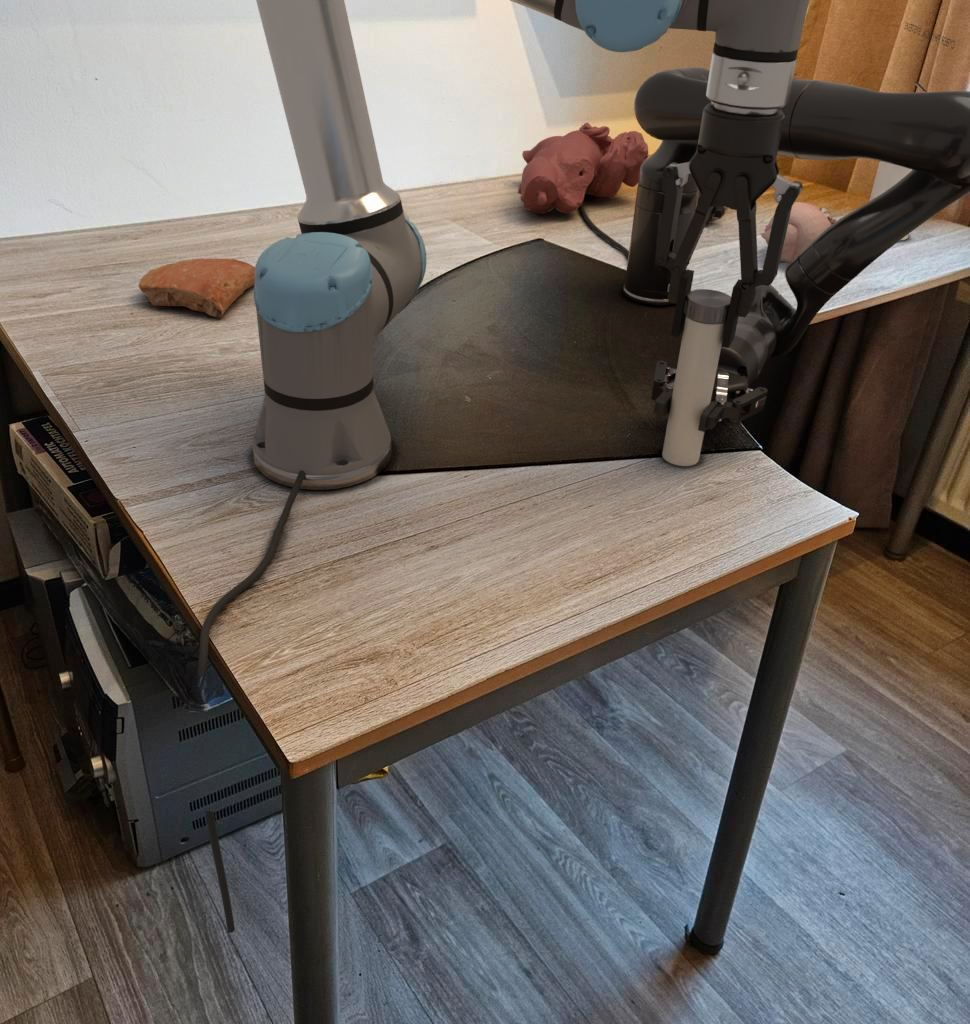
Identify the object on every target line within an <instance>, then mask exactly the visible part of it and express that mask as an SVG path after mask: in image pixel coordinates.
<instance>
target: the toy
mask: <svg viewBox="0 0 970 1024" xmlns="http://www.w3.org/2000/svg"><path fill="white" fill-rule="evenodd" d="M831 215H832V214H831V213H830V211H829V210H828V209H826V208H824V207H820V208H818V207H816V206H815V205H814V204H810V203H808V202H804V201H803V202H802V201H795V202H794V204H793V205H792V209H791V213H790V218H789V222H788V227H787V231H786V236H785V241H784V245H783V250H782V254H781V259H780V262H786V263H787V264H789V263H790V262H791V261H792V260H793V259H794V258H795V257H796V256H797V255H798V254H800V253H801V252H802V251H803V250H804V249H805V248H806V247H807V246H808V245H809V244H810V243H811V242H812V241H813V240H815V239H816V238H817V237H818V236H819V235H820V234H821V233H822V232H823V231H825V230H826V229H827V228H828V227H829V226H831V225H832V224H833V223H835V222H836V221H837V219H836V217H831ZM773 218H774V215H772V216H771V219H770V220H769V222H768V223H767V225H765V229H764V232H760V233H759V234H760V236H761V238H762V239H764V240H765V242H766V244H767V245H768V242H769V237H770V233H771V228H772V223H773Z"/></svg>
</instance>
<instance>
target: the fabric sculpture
mask: <svg viewBox="0 0 970 1024" xmlns="http://www.w3.org/2000/svg"><path fill="white" fill-rule="evenodd" d="M610 130H611V129H610V127H608V126H607V125H605V126H604V125H602V126H600V127H598V126H592V125H591V124H590V123H589V122H585V123H584V124H581V126H580V127H579V129H576V130H573V131H570V132H568V133H566V134H565V135H554V136H549V137H546V138H544V139H542V140H540V141H539V142H538V143H536V145H535V146H534V147H532V148H531V149H529V150H523V151H522V153H521V156H522V158H523V160H524V162H525V163H526V164H525V166H524V168H523V170H522V172H521V173H522V174H521V180H520V181H521V182H520V185H519V186H518V189H517V194H518V195H520V200H521V202H522V203H523V207H524V209H525V210H529V211H530V212H532V213H535V214H546V213H549V212H551V211H552V210H553V209H554V208H555V209H556V210H557V211H559V212H560V213H564V214H569V213H573V212H575V211H578V209H580V205H581V204H582V202H583V203H584V199H585V195H591V196H593V197H596V198H599V197H604V198H606V197H608V198H610V197H613V196H614V195H617V194H618V192H619V191H620V189H621V186H622V184H624V185H625V186H627V187H631V188H635V187H636V186H638V179H639V172H640V167H641V165H642V163H643V162H644V161H645V160H646V159H648V158H649V146H648V143H647V142H646V141H645V139H644V135H643V134H642V132H638V131H636V130H631V131H628V132H627V131H624V132H621V133H618V135H617V136H615V137H614V138H612V137H611V136H610V135H609V134H610Z"/></svg>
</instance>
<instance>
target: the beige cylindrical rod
mask: <svg viewBox="0 0 970 1024" xmlns="http://www.w3.org/2000/svg"><path fill="white" fill-rule="evenodd" d="M725 326H726V321H725V322H722V323H704V322H699V321H696V320H693V319H691V318H689V317H687V316H686V318H685V324H684V330H683V331H682V335H681V342H680V348H679V354H678V359H677V365H676V369H677V371H676V376H675V379H674V381H675V382H674V381H673V382H674V388H673V394H672V400H671V405H670V411H669V413H668V416H667V417H668V418H667V422H666V423H667V424H666V430H665V436H664V441H663V447H662V452H661V456H662V458H663V459H664V460H665V461H666V462H667V463H669V464H671V465H674V466H679V467H691V466H694V465H696V464H698V462H699V461H700V457H701V452H702V447H703V441H704V436H705V432H702V431H699V430H698V427H699V422H700V417H701V414H702V412H703V411H704V410H705V409H706V407H707V406H708V405H709V404H710V401H711V396H712V391H713V386H714V381H715V376H716V371H717V366H718V361H719V356H720V351H721V346H722V341H723V336H724V331H725Z"/></svg>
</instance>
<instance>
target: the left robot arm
mask: <svg viewBox="0 0 970 1024" xmlns="http://www.w3.org/2000/svg"><path fill="white" fill-rule="evenodd" d="M255 1H256V7H257V9H258V13H259V17H260V22H261V24H262V30H263V33H264V37H265V40H266V41H265V42H266V44H267V49H268V52H269V56H270V60H271V64H272V68H273V72H274V76H275V79H276V83H277V87H278V92H279V95H280V99H281V104H282V107H283V111H284V115H285V118H286V122H287V126H288V130H289V134H290V138H291V142H292V146H293V150H294V155H295V157H296V162H297V166H298V169H299V173H300V177H301V182H302V185H303V189H304V193H305V201H304V204H302V207H301V208H300V211H299V212H298V214H297V216H296V217H297V221H298V225H299V229H300V233H299V234H296V236H295V237H289V236H287V237H284V238H281V239H279V240H278V241H275V242H274V243H272V244H271V245H269V246H268V247H267V248H265V249H264V250H263V251H262V253H261V254H260V255H259V256H258V258H257V260H256V263H255V266H254V267H255V284H254V285H253V286H254V287H253V303H254V307H255V310H256V311H255V312H256V320H257V331H258V340H259V349H260V359H261V369H262V378H263V388H264V390H263V391H264V396H263V400H262V404H261V408H260V412H259V415H258V419H257V423H256V427H255V430H254V434H253V438H252V455H253V460H254V464H255V467H256V468H257V470H258V471H259V472H260V473H261V474H262V475H263V476H265V477H266V478H268V479H269V480H271V481H273V482H275V483H278V484H280V485H283V486H286V487H290V488H291V490H290V493H289V495H288V498H287V500H286V503H285V505H284V507H283V509H282V512H281V515H280V517H279V519H278V521H277V524H276V526H275V529H274V531H273V534H272V537H271V541H270V543H269V546H268V548H267V551H266V553H265V555H264V557H263V558H262V560H261V561H260V562H259V564H258V565H257V567H256V568H255V569H254V570H253V571H252V572H251V573H250V574H249V575H248V576H247V577H245V578H244V579H243V580H242V581H241V582H239V583H238V584H237V585H235V586H234V587H233V588H232V589H230V590H229V591H228V592H226V593H225V594H224V595H222V597H220V599H218V601H216V602H215V604H214V605H213V607H211V609H210V610H209V612H208V614H207V615H206V618H205V619H204V622H203V624H202V626H201V631H200V633H199V634H200V635H199V648H198V650H199V651H198V660H197V668H196V669H197V670H196V676H197V677H198V678H203V677H205V676H206V674H207V668H208V659H209V658H208V657H209V644H210V643H209V642H210V632H211V628H212V626H213V624H214V622H215V619H216V618H217V617H218V615H219V613H220V612H221V611H222V610H223V609H224V607H226V606H227V604H228V603H230V602H231V601H232V600H233V599H235V598H236V597H237V596H238V595H239V594H241V593H242V592H244V591H245V590H246V589H247V588H249V587H250V586H251V585H252V584H254V583H255V582H256V581H257V580H258V579H259V577H260V576H261V575H262V574H264V572H265V570H266V569H267V568H268V566H269V564H270V563H271V562H272V561H271V560H272V559H273V557H274V555H275V553H276V550H277V548H278V545H279V541H280V539H281V536H282V533H283V531H284V528H285V525H286V523H287V520H288V518H289V516H290V513H291V510H292V508H293V505H294V503H295V501H296V498H297V496H298V493H299V491H300V489H301V490H312V491H314V490H315V491H323V490H327V491H328V490H337V489H342V488H348V487H351V486H355V485H358V484H361V483H363V482H366V481H368V480H370V479H373V478H374V477H375V476H377V475H378V474H380V473H381V472H382V471H383V470H384V469H385V468H386V467H387V466H388V464H389V463H390V461H391V458H392V434H391V432H390V430H389V427H388V424H387V422H386V419H385V417H384V413H383V411H382V408H381V406H380V403H379V400H378V398H377V395H376V393H375V385H374V342H375V339H376V338H377V337H378V336H379V334H380V333H381V332H382V331H383V330H384V329H386V327H387V326H388V325H389V324H390V323H391V322H392V321H393V320H394V319H395V318H396V316H397V315H398V314H400V313H401V312H403V310H405V309H406V308H407V307H408V306H409V305H410V304H411V303H412V301H413V299H414V298H415V296H416V295H417V293H418V291H419V289H420V287H421V285H422V283H423V281H424V278H425V276H426V275H425V274H426V270H427V250H426V246H425V242H424V240H423V237H422V235H421V233H420V231H419V229H418V228H417V226H416V224H414V222H413V221H410V219H409V220H408V219H407V218H406V217H405V215H404V211H405V210H404V208H403V203H402V198H401V195H400V194H399V193H398V192H397V191H396V190H394V189H393V188H392V187H390V186H389V185H387V184H386V183H385V182H384V179H383V175H382V169H381V166H380V165H381V164H380V160H379V156H378V155H379V154H378V151H377V145H376V142H375V137H374V132H373V127H372V124H371V123H372V122H371V118H370V114H369V109H368V105H367V104H368V103H367V99H366V94H365V90H364V86H363V81H362V76H361V72H360V68H359V63H358V57H357V54H356V49H355V43H354V39H353V35H352V31H351V26H350V21H349V16H348V11H347V7H346V2H345V0H255ZM509 1H510V2H513V3H514V4H515V3H516V4H518V5H521V6H523V7H525V8H528V9H530V10H532V11H533V10H534V11H536V12H538V13H541V14H544V15H546V16H547V17H548V16H549V17H551V18H553V19H556V20H557V21H560V22H562V23H564V24H566V25H568V26H570V27H573V28H576V29H579V30H581V31H583V32H584V33H585V34H586V36H587V37H588V38H589V39H590V40H591V41H592V42H593V43H594V44H596V45H597V46H599V47H600V48H602V49H604V50H607V51H609V52H610V51H611V52H615V53H628V52H630V53H631V52H635V51H639V50H642V49H644V48H645V47H648V46H651V45H652V44H654V43H656V42H657V41H659V40H660V39H661V37H663V36H664V35H666V33H667V32H668V30H669V29H670V30H671V29H673V30H688V31H699V32H714V33H715V36H714V37H715V39H714V43H713V49H712V53H711V60H710V67H709V71H710V73H709V79H708V85H707V91H706V96H707V98H708V99H709V100H710V101H711V103H709V104H707V105H706V107H704V109H703V116H702V122H701V128H700V134H699V140H698V146H697V150H696V153H695V154H694V156H693V157H692V159H691V160H690V162H686V163H681V164H678V163H676V162H673V163H671V164H670V165H669V166H667V167H666V168H665V169H664V170H663V172H662V178H663V183H664V188H665V197H664V204H663V211H662V218H661V224H660V231H659V238H658V245H657V251H656V258H655V262H656V264H657V265H659V266H664V267H666V268H667V269H669V270H670V272H671V279H670V286H669V292H668V301H669V302H670V303H675V304H674V305H675V309H674V316H673V321H672V326H671V333H670V336H671V337H674V338H679V336H680V335H681V334H682V333H683V330H684V324H685V318H686V315H685V313H684V307H685V301H686V298H687V294H688V293H689V292H690V291H692V287H693V281H694V275H695V270H692V269H688V266H689V265H690V261H691V260H692V257H693V255H694V252H695V250H696V249H697V245H698V243H699V240H700V238H701V236H702V234H703V231H704V229H705V227H706V226H707V225H706V222H707V220H708V218H709V216H710V213H711V211H712V209H713V207H720V206H724V207H725V208H728V209H731V210H733V211H736V220H737V222H738V241H739V242H738V243H739V261H740V278H738V279H737V281H736V282H735V284H733V287H732V291H731V296H730V297H731V300H730V305H729V311H728V316H727V321H726V326H725V331H724V336H723V341H722V346H721V347H726V348H729V346H730V345H731V343H732V341H733V340H734V337H735V332H736V327H737V322H738V317H739V316H740V317H746V316H747V314H748V313H749V311H750V309H751V306H752V301H753V296H754V291H755V287H757V286H760V285H765V286H769V285H772V284H773V282H774V281H775V279H776V277H777V276H778V271H779V267H780V264H781V263H780V262H781V261H780V259H781V254H782V250H783V245H784V241H785V236H786V231H787V227H788V222H789V218H790V213H791V209H792V205H793V204H794V202H797V199H798V198H799V196H800V194H801V192H802V191H803V187H804V186H803V183H802V182H801V181H799V180H794V181H792V180H790V179H788V178H786V177H784V176H783V175H781V174H780V171H779V166H778V163H777V158H778V155H777V152H778V148H779V143H780V138H781V133H782V128H783V123H784V119H785V115H784V114H783V112H782V111H781V110H780V108H782V107H784V106H785V105H786V104H787V103H788V99H789V95H790V90H791V85H792V80H793V79H794V75H795V71H796V67H797V65H796V64H797V62H798V58H797V57H798V53H799V49H800V44H801V39H802V35H803V30H804V25H805V21H806V17H807V12H808V8H809V3H810V0H509ZM690 173H691V174H692V176H693V179H694V181H695V183H696V185H697V187H698V189H699V191H700V193H701V197H700V200H699V202H698V204H697V207H696V209H695V213H694V215H693V218H692V220H691V222H690V225H689V227H688V230H687V232H686V234H685V237H684V239H683V241H682V244H681V246H680V248H679V251H678V253H677V255H676V254H675V253H673V250H674V243H675V237H676V231H677V224H678V218H679V212H680V205H681V199H682V193H683V185H685V184H686V183H687V181H688V175H689V174H690ZM770 187H773V189H774V193H773V194H774V195H773V200H774V201H775V202H776V203H777V206H776V208H775V211H774V214H773V216H774V218H773V223H772V228H771V233H770V237H769V242H768V244H767V247H766V252H765V256H764V260H763V261H764V262H763V267H762V269H759V260H758V258H759V257H758V238H757V236H758V235H757V233H758V232H757V200H758V199H759V198H761V196H762V195H764V193H766V192H767V191H768V190H769V189H770ZM403 210H404V211H403ZM686 269H687V270H686ZM204 814H205V819H206V825H207V830H208V836H209V841H210V846H211V851H212V856H213V861H214V866H215V871H216V876H217V880H218V886H219V890H220V895H221V900H222V906H223V911H224V918H225V923H226V929H227V932H228V933H229V934H232V933H234V932H235V930H236V927H235V921H234V915H233V913H234V912H233V908H232V902H231V897H230V896H231V895H230V891H229V887H228V881H227V877H226V875H227V874H226V871H225V866H224V861H223V856H222V851H221V846H220V840H219V835H218V830H217V822H216V816H215V811H211V810H205V811H204Z"/></svg>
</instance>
